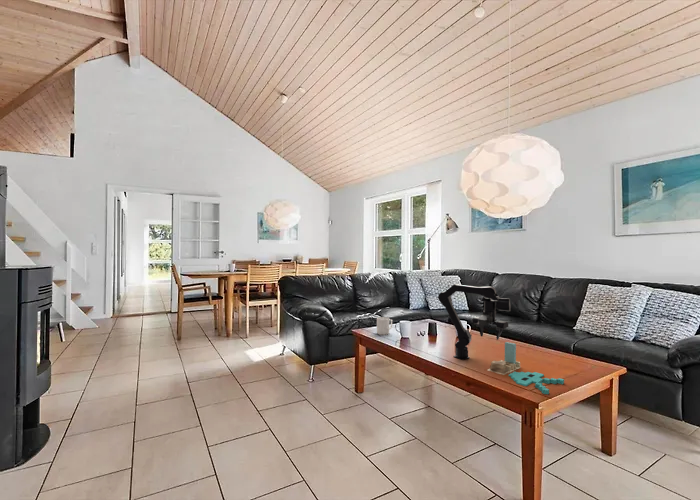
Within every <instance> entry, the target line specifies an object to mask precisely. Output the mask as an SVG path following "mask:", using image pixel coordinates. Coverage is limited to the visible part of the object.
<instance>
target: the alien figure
mask: <svg viewBox="0 0 700 500" xmlns="http://www.w3.org/2000/svg"><path fill="white" fill-rule="evenodd" d="M544 374H545V373H544ZM544 374H543V373H540V372H537V371H534V372H530V371H526V372H524V371H520V372H518V371H512V372H510V373H508V377H509V378H510V379H511V380H513V382H515V384H516V385H520V386H523V387H528V386H529V385H531V384H534V387H535V388H536V389H537V390H538V391H539V390H540V392H541V394H544V395H546V394H547V395H549V394H550V389H549V388H547V387H546V386H545V385H543V384H547V385H549V384H553V385H557V384H559V385H564V383H565V379H563V378H553V377H551V378H548V377H544V376H545V375H544ZM543 377H544V378H543Z"/></svg>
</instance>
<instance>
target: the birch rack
mask: <svg viewBox="0 0 700 500" xmlns="http://www.w3.org/2000/svg"><path fill="white" fill-rule="evenodd" d="M497 361H498V362H503V363H506V367H507V368H508V372H506V373H504V374H503V373H499V372H496V371H492V370H490V368H488V369H487V371H488V372H491V373H496V374H498V375H501V376H506V375H507V374H511V373H513V372H515V371H516V370H518V369H521V368H522V366H521V361H517V360H516V364H514V363H510V362H506V361H505V358H504V360H503V359H502V360H497Z"/></svg>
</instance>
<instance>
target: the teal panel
mask: <svg viewBox="0 0 700 500" xmlns="http://www.w3.org/2000/svg"><path fill="white" fill-rule="evenodd" d="M504 359H505V361H506V362H510V363H514V364H516V361H517V344H516V343H514V342H510V341H509V342H508V341H506V342H504Z"/></svg>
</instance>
